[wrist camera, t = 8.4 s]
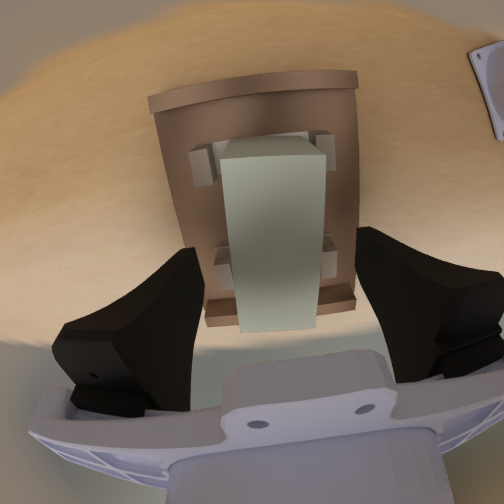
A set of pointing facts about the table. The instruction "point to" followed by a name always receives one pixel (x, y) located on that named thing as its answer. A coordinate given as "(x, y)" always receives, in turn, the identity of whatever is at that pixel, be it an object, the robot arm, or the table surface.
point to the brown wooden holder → (259, 125)
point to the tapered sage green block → (274, 229)
